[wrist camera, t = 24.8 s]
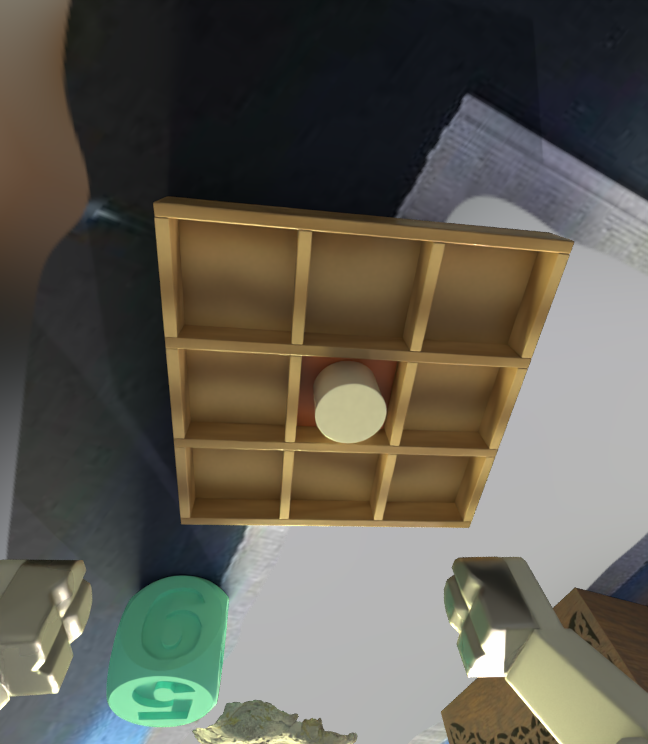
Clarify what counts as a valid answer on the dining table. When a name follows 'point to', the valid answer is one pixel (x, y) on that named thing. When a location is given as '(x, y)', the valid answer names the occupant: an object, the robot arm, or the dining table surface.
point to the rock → (266, 727)
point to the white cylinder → (348, 402)
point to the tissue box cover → (506, 708)
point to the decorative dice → (169, 653)
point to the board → (343, 358)
